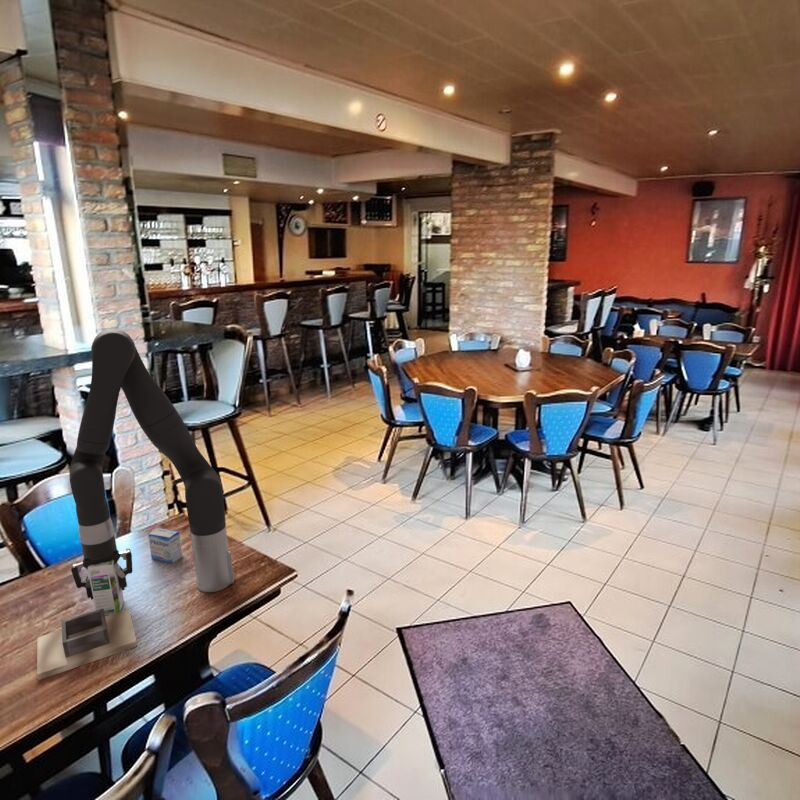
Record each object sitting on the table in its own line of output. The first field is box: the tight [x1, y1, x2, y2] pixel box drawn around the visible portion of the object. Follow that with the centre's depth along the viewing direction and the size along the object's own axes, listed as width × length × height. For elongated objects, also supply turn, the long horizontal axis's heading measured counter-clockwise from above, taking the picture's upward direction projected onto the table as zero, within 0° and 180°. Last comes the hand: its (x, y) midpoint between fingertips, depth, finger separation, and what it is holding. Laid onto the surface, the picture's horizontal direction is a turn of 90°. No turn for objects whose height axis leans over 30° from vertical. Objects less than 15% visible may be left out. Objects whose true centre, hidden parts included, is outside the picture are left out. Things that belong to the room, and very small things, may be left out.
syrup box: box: [87, 559, 125, 616], centre depth 145 cm, size 6×6×14 cm
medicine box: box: [148, 527, 183, 564], centre depth 169 cm, size 8×4×9 cm, turn 73°
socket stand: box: [36, 608, 138, 681], centre depth 133 cm, size 20×14×6 cm
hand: (107, 593), depth 145 cm, fingers closed on syrup box, 6 cm apart
